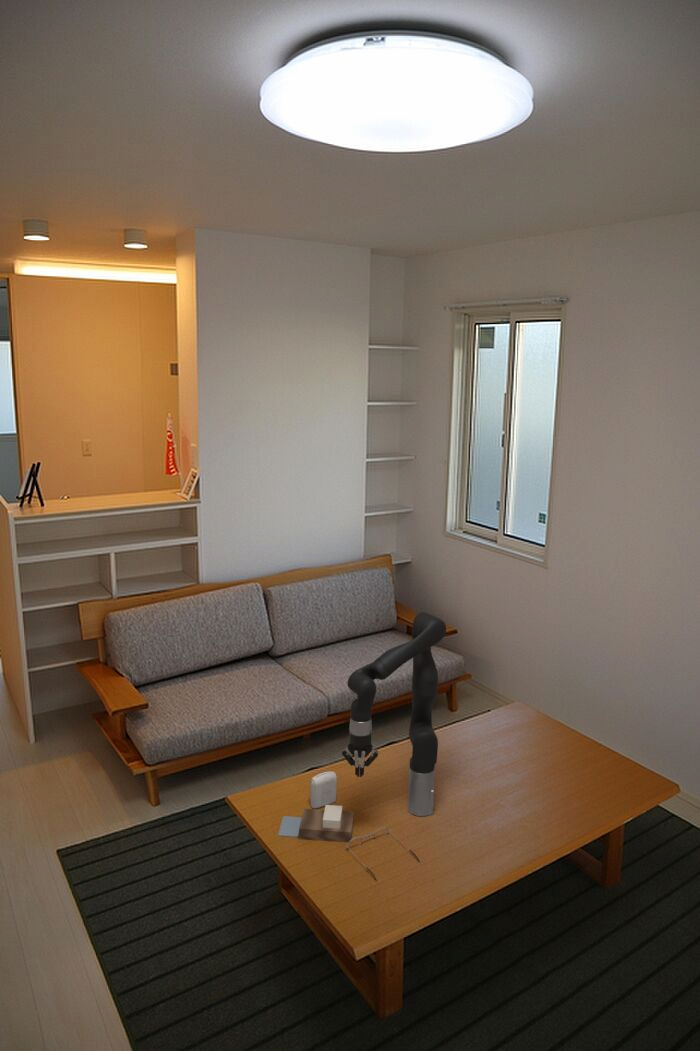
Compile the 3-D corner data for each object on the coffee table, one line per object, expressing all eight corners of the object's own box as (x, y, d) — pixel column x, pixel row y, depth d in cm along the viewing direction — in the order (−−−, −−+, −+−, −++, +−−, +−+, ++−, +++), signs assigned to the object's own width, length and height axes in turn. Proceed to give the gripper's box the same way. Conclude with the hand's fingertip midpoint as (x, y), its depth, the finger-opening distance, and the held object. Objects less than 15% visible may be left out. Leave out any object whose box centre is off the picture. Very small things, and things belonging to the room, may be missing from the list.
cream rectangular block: (342, 813, 270) (342, 805, 269) (340, 828, 261) (340, 821, 260) (325, 812, 270) (325, 804, 269) (322, 827, 261) (322, 819, 261)
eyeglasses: (388, 833, 266) (388, 823, 265) (421, 865, 251) (421, 855, 250) (344, 850, 257) (345, 840, 256) (376, 884, 241) (376, 874, 240)
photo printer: (331, 796, 287) (332, 767, 284) (338, 802, 283) (338, 772, 281) (308, 804, 281) (308, 774, 279) (314, 810, 278) (314, 780, 275)
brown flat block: (353, 821, 272) (353, 811, 271) (351, 842, 260) (351, 832, 259) (303, 818, 273) (303, 808, 272) (299, 839, 261) (299, 828, 260)
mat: (302, 818, 273) (302, 817, 273) (298, 837, 262) (298, 836, 262) (283, 817, 274) (283, 816, 273) (278, 835, 263) (278, 835, 263)
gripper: (380, 725, 260) (379, 771, 264) (342, 723, 261) (341, 768, 265) (379, 736, 253) (378, 783, 257) (340, 734, 254) (339, 780, 258)
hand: (359, 775), depth 261 cm, fingers closed
